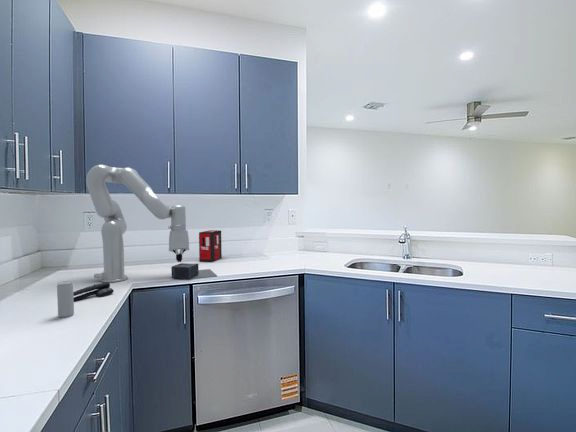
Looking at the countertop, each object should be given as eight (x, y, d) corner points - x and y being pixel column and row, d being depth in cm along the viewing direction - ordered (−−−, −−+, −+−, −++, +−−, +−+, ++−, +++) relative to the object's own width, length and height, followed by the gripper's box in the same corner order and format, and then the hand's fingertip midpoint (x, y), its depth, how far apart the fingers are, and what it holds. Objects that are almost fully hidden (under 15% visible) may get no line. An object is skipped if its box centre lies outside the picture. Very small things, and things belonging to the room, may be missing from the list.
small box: (171, 278, 178) (189, 279, 175) (170, 266, 177) (189, 266, 175) (181, 274, 188) (199, 274, 186) (181, 262, 188) (198, 263, 185)
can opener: (107, 292, 154) (107, 279, 154) (115, 294, 150) (115, 282, 150) (63, 301, 140) (63, 288, 139) (71, 304, 136) (70, 290, 135)
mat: (182, 279, 176) (182, 279, 176) (178, 272, 194) (178, 271, 194) (217, 276, 184) (217, 275, 184) (209, 269, 202) (209, 269, 202)
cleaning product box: (211, 262, 226) (211, 232, 225) (199, 262, 228) (198, 232, 227) (221, 258, 242) (221, 230, 241) (210, 258, 244) (209, 230, 243)
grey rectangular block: (55, 316, 120) (53, 283, 120) (68, 312, 125) (67, 280, 124) (63, 318, 119) (62, 284, 118) (77, 314, 123) (76, 281, 122)
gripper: (164, 229, 177) (165, 263, 178) (193, 227, 183) (194, 261, 184) (163, 228, 184) (164, 261, 185) (191, 227, 190) (192, 259, 191)
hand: (179, 261), depth 185 cm, fingers closed
